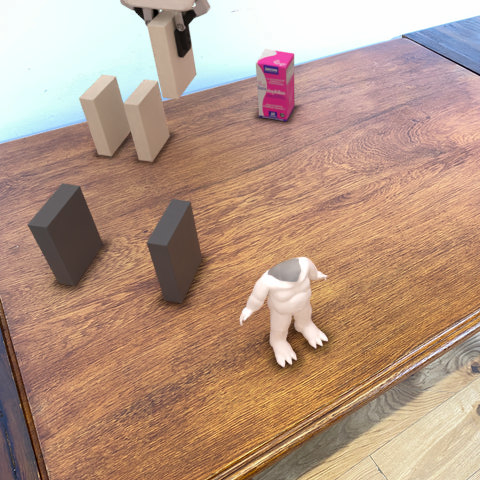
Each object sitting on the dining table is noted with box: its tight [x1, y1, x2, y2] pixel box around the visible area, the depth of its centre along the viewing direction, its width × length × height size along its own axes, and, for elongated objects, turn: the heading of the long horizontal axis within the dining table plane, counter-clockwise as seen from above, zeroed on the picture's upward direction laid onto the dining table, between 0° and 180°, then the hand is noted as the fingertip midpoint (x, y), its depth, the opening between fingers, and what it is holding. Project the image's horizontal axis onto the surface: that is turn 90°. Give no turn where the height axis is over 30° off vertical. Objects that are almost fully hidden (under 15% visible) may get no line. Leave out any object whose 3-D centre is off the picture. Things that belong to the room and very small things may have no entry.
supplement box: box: [255, 48, 295, 122], centre depth 96 cm, size 6×6×12 cm
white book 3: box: [146, 10, 198, 100], centre depth 76 cm, size 2×8×11 cm, turn 170°
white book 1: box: [78, 74, 131, 157], centre depth 88 cm, size 2×8×11 cm, turn 170°
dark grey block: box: [27, 182, 104, 287], centre depth 68 cm, size 2×8×11 cm, turn 170°
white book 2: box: [123, 79, 171, 163], centre depth 87 cm, size 2×8×11 cm, turn 170°
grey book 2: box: [146, 198, 203, 304], centre depth 66 cm, size 2×8×11 cm, turn 170°
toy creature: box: [239, 256, 329, 368], centre depth 59 cm, size 12×6×12 cm, turn 126°
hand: (173, 51), depth 76 cm, fingers closed on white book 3, 2 cm apart
